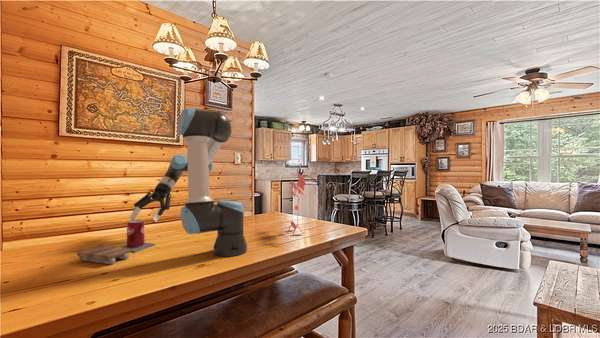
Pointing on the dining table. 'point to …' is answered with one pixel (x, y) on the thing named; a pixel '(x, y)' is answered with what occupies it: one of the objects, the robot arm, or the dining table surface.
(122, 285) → the dining table surface
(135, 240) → the soda can
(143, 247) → the mat
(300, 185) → the figurine
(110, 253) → the slab on rollers
